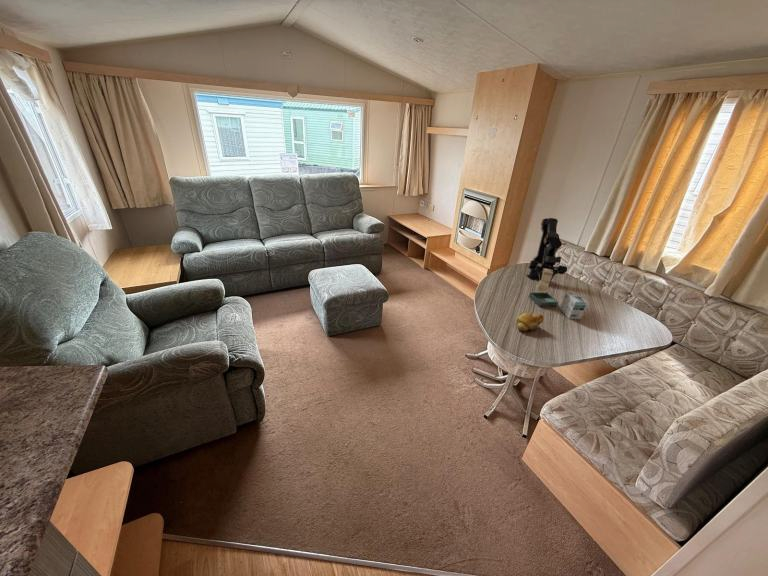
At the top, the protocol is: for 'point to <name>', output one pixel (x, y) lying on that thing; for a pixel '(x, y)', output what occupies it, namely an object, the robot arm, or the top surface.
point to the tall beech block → (544, 280)
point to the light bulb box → (573, 305)
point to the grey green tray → (543, 299)
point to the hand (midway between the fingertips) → (545, 281)
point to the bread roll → (529, 321)
